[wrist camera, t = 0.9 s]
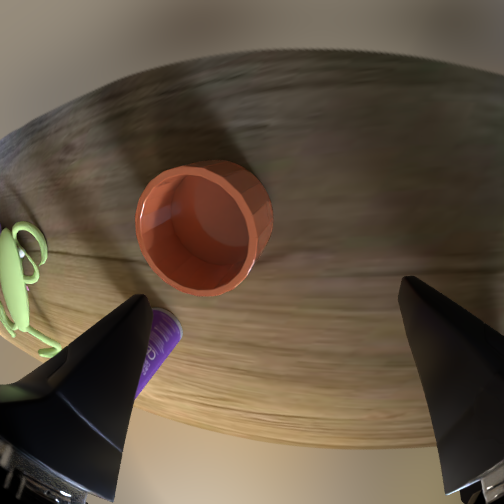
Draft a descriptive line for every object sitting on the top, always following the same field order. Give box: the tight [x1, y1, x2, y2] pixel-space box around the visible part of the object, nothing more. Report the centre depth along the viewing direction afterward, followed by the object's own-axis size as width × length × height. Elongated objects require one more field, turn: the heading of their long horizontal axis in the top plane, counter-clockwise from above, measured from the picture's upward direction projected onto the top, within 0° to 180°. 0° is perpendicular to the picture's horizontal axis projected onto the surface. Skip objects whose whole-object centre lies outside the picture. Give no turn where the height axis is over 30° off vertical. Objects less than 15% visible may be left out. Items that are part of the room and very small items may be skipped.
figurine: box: [0, 221, 62, 358], centre depth 35 cm, size 18×27×6 cm
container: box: [135, 307, 183, 399], centre depth 23 cm, size 5×5×15 cm
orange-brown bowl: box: [135, 160, 273, 296], centre depth 21 cm, size 9×9×5 cm
